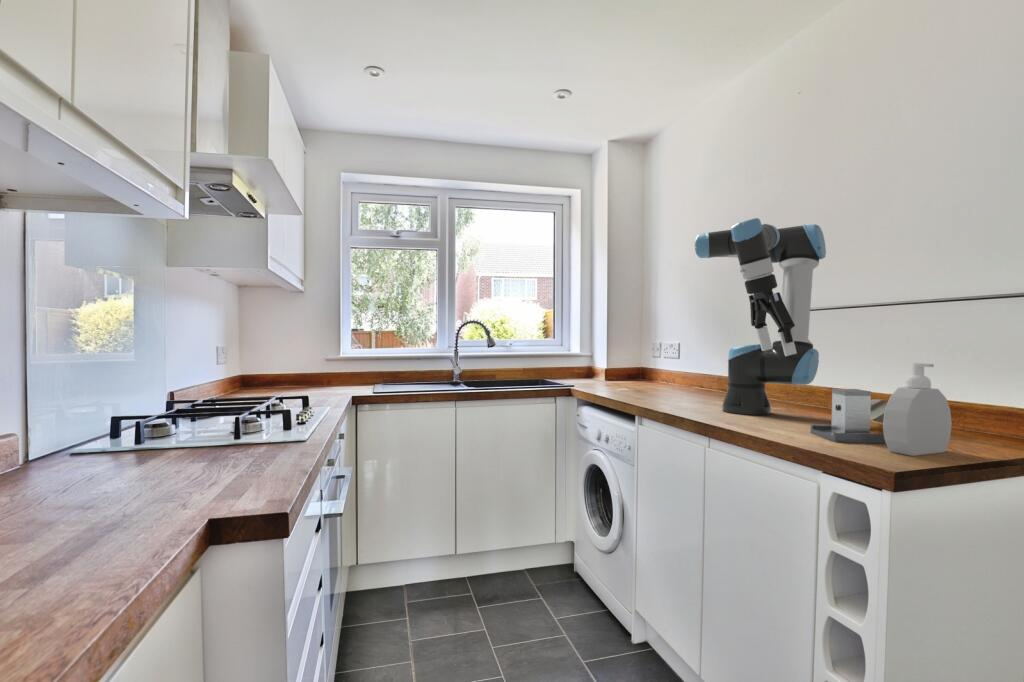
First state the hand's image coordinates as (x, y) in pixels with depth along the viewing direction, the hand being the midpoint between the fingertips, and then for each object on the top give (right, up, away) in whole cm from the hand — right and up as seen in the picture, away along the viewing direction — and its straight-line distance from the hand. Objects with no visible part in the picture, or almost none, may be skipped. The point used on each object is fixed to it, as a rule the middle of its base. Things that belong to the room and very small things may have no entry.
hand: (778, 352), depth 135 cm
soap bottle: (+18, -22, -24) cm, 37 cm away
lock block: (+14, -21, -8) cm, 26 cm away
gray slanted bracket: (+31, -22, +9) cm, 39 cm away
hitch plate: (+14, -22, -8) cm, 27 cm away
